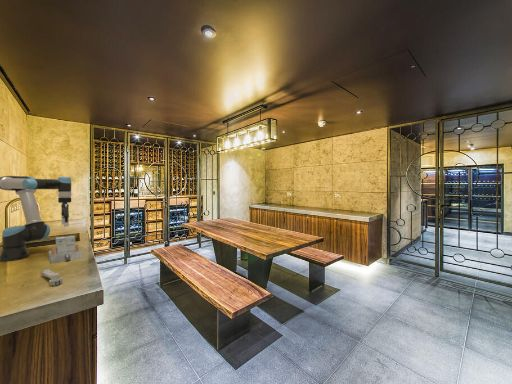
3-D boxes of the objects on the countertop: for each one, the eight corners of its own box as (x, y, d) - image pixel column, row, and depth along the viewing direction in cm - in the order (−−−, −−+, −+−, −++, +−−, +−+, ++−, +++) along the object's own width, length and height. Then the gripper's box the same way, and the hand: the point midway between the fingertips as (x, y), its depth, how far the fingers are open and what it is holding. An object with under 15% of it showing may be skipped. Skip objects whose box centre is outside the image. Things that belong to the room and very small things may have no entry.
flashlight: (50, 267, 139) (63, 271, 124) (51, 278, 139) (63, 283, 124) (39, 270, 135) (50, 273, 120) (39, 281, 134) (51, 286, 120)
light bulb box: (73, 248, 176) (73, 235, 176) (75, 250, 172) (75, 236, 172) (55, 251, 168) (55, 237, 168) (57, 253, 164) (57, 238, 164)
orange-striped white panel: (48, 257, 171) (48, 246, 171) (78, 252, 184) (78, 242, 184) (50, 264, 155) (50, 253, 155) (83, 258, 168) (83, 248, 168)
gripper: (56, 196, 175) (56, 223, 176) (60, 198, 158) (60, 228, 159) (69, 196, 181) (69, 222, 181) (73, 197, 163) (73, 227, 164)
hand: (65, 225), depth 170 cm, fingers open, 13 cm apart
